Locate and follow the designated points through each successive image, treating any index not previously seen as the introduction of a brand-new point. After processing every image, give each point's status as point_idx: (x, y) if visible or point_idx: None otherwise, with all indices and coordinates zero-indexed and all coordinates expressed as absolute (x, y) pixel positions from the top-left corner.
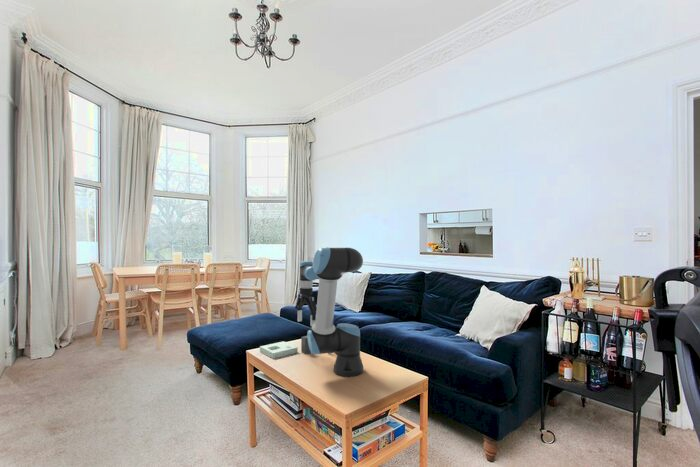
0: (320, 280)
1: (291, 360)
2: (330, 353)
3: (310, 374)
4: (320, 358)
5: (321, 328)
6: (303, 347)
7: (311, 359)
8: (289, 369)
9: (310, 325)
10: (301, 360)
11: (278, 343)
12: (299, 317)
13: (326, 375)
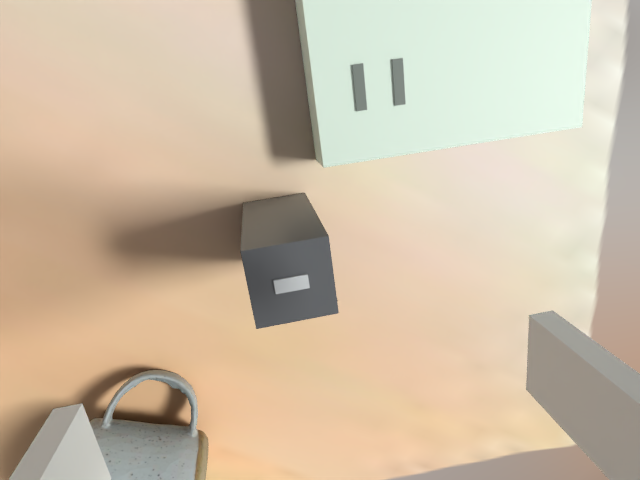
0: None
1: (127, 5)
2: (131, 378)
3: None
4: (60, 267)
5: None
6: (272, 211)
7: (68, 189)
8: None
9: (77, 410)
10: (82, 95)
11: (556, 49)
12: (584, 393)
13: None
